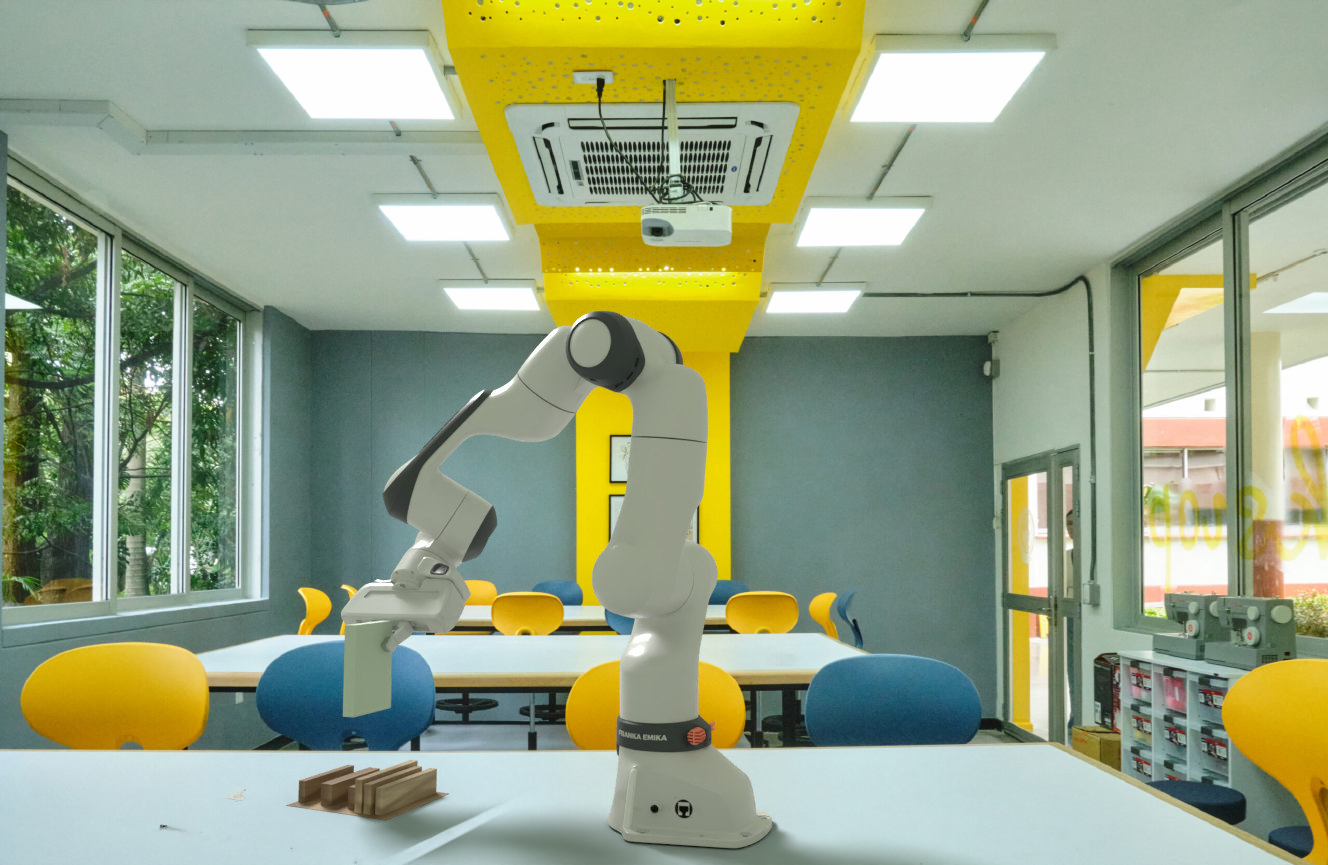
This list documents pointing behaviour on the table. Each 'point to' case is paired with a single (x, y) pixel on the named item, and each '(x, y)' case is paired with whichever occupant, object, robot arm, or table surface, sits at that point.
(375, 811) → the offcut rack
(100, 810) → the table surface
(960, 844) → the table surface
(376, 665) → the pale green flat block
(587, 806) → the table surface
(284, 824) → the table surface
